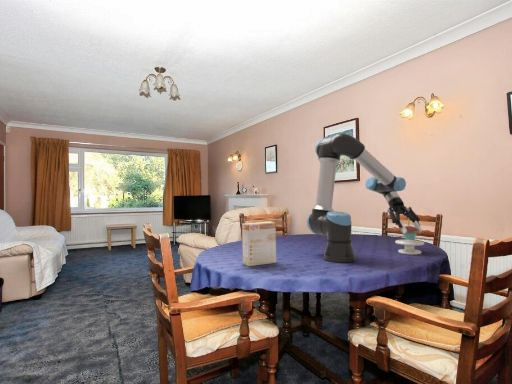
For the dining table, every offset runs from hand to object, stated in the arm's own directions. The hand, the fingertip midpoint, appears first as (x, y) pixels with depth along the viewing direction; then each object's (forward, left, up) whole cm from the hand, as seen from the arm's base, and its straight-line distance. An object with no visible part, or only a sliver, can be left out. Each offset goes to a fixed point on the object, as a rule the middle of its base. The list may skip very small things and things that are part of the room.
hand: (413, 232), depth 160 cm
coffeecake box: (-71, -45, -12) cm, 85 cm away
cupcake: (-2, +3, -4) cm, 6 cm away
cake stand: (-2, +3, -12) cm, 12 cm away
